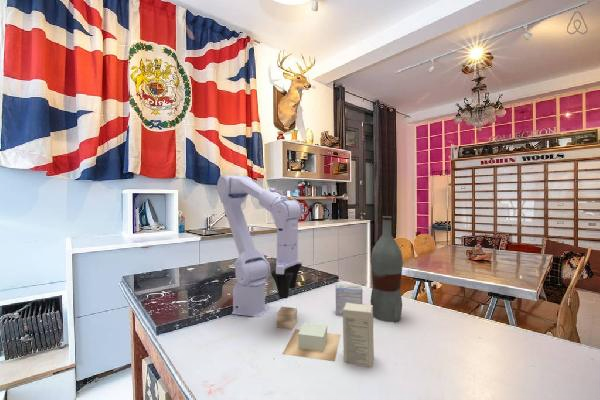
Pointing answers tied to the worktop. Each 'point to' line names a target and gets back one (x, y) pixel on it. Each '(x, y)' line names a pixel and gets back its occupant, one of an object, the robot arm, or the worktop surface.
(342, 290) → the medicine box
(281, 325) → the maple cube
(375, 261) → the bottle
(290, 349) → the cork mat
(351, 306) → the skincare box
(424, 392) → the worktop surface
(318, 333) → the sage block
